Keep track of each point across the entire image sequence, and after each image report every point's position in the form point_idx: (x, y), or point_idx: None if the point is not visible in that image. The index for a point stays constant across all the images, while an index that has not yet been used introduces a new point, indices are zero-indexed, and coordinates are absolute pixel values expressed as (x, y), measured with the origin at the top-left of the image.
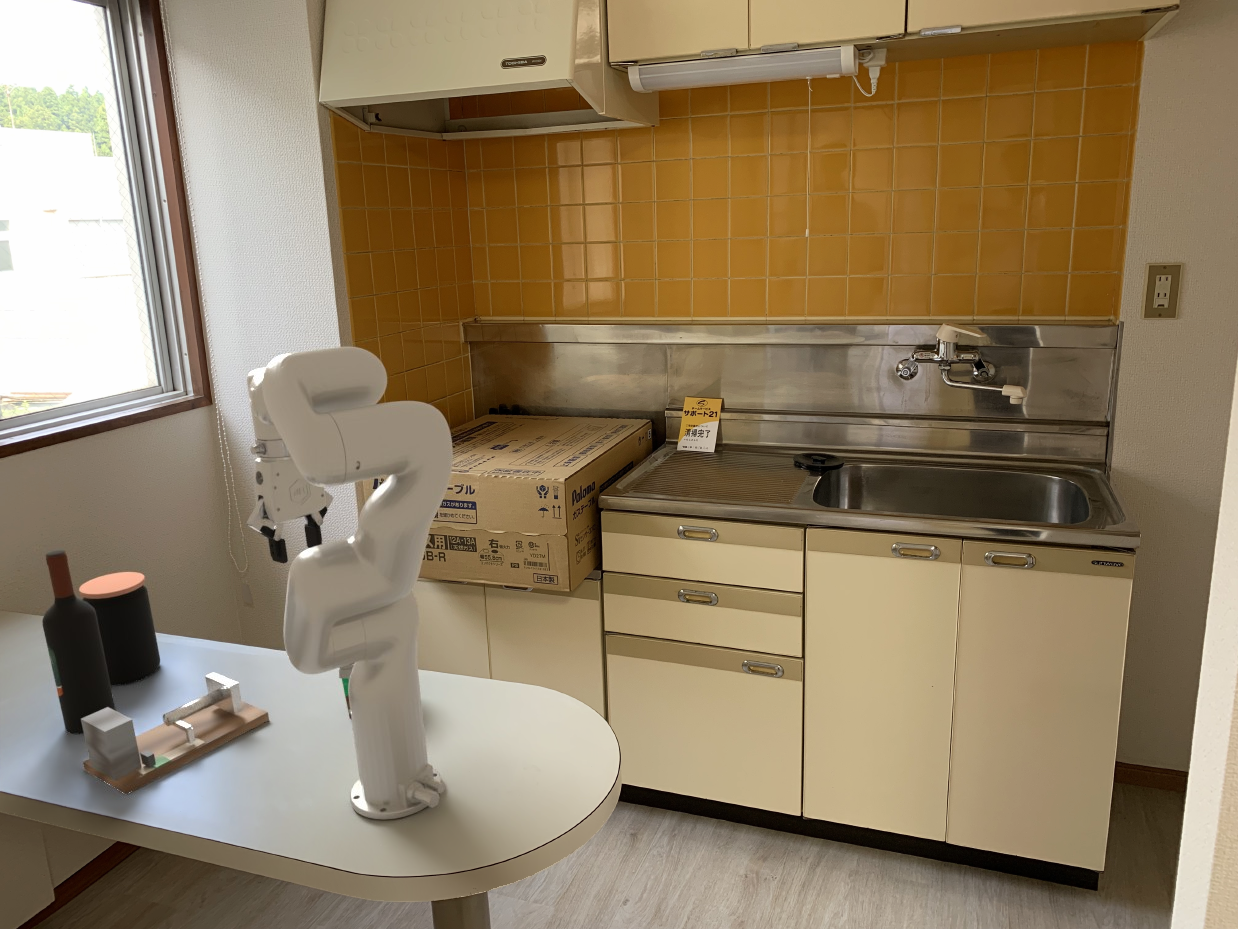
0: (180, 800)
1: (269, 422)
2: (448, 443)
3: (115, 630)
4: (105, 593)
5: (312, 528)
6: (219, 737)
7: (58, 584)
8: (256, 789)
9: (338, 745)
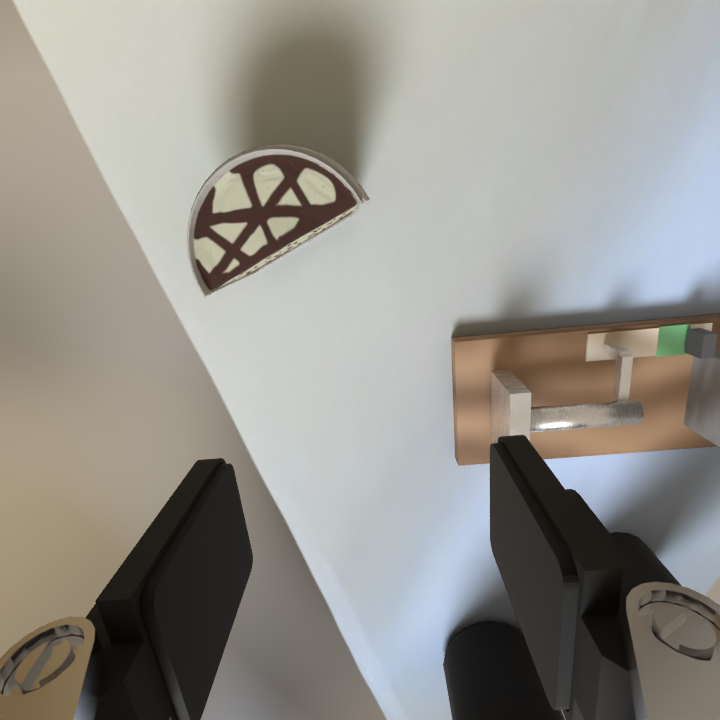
0: (705, 215)
1: None
2: None
3: None
4: None
5: (169, 631)
6: (559, 332)
7: None
8: (618, 124)
9: (430, 133)
